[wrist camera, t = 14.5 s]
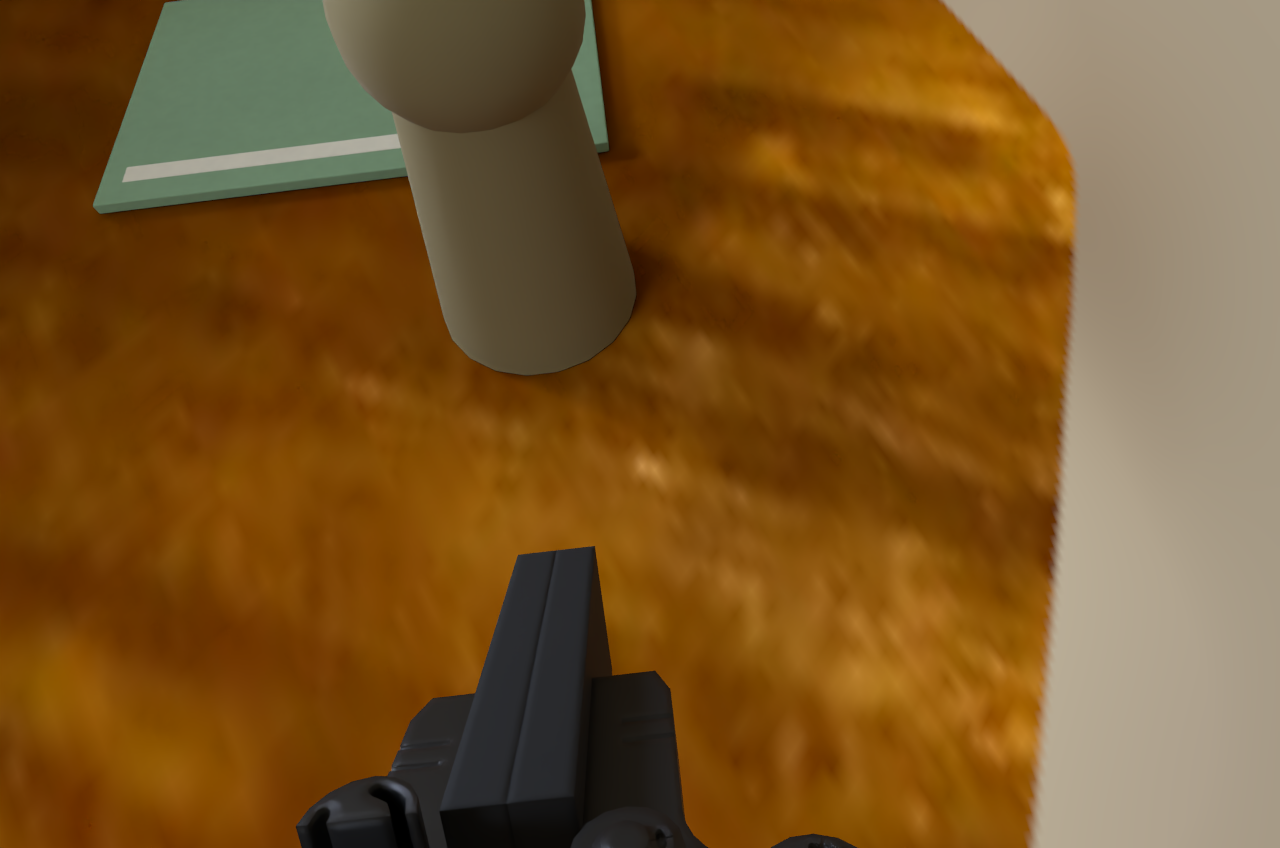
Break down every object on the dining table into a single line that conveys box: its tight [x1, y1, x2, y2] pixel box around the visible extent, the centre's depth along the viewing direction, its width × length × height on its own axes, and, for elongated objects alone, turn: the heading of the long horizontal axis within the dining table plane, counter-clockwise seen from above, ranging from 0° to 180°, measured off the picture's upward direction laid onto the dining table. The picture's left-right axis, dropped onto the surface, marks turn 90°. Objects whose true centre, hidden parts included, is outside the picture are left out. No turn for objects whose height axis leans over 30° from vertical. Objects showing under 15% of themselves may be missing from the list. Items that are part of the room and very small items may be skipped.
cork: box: [322, 0, 636, 376], centre depth 19 cm, size 6×6×11 cm
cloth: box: [93, 0, 609, 214], centre depth 29 cm, size 18×12×1 cm, turn 96°
